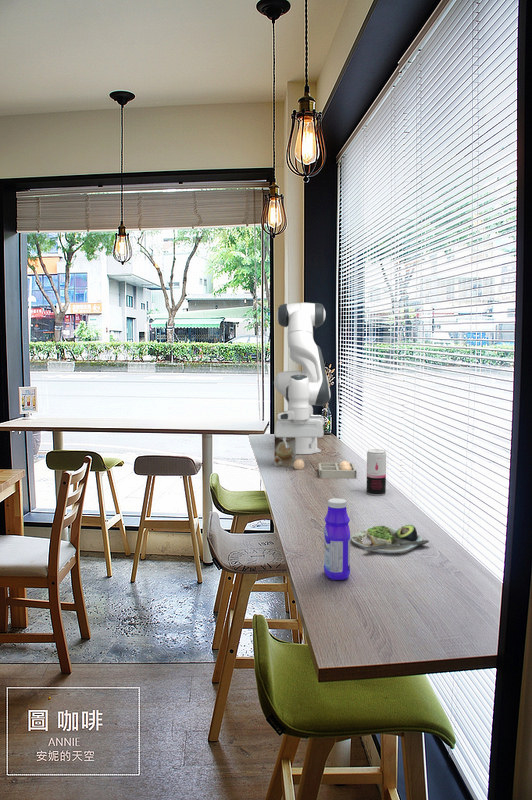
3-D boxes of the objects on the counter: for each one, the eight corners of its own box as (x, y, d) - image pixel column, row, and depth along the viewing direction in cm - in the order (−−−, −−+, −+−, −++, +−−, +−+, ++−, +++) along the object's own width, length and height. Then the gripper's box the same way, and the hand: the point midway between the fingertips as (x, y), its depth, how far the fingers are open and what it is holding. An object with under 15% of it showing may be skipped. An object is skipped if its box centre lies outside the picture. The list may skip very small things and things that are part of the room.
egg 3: (339, 474, 224) (339, 463, 224) (351, 474, 224) (351, 463, 223) (340, 477, 219) (340, 465, 219) (352, 477, 219) (352, 465, 219)
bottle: (321, 569, 133) (321, 496, 131) (345, 568, 133) (346, 495, 131) (327, 582, 125) (327, 505, 124) (352, 581, 126) (353, 504, 124)
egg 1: (293, 468, 237) (293, 458, 237) (304, 469, 237) (304, 458, 237) (293, 471, 233) (293, 460, 232) (304, 471, 233) (304, 460, 232)
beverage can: (387, 492, 200) (388, 450, 199) (383, 496, 194) (383, 453, 193) (369, 490, 203) (369, 448, 201) (364, 494, 197) (364, 451, 195)
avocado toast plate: (392, 565, 136) (392, 546, 135) (334, 546, 149) (335, 529, 148) (435, 545, 149) (436, 528, 148) (379, 529, 162) (379, 513, 161)
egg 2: (338, 470, 231) (338, 459, 230) (349, 471, 230) (350, 459, 230) (339, 473, 226) (339, 462, 225) (350, 473, 226) (351, 462, 225)
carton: (318, 471, 232) (318, 462, 232) (353, 471, 232) (353, 463, 231) (319, 479, 219) (319, 470, 218) (356, 480, 218) (356, 470, 217)
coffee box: (273, 466, 242) (273, 429, 240) (274, 463, 248) (274, 427, 246) (295, 467, 241) (295, 429, 239) (296, 464, 247) (296, 427, 245)
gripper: (324, 413, 235) (324, 447, 236) (274, 413, 236) (274, 446, 237) (324, 415, 229) (324, 449, 230) (273, 415, 230) (274, 449, 231)
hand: (298, 448), depth 234 cm, fingers open, 8 cm apart
